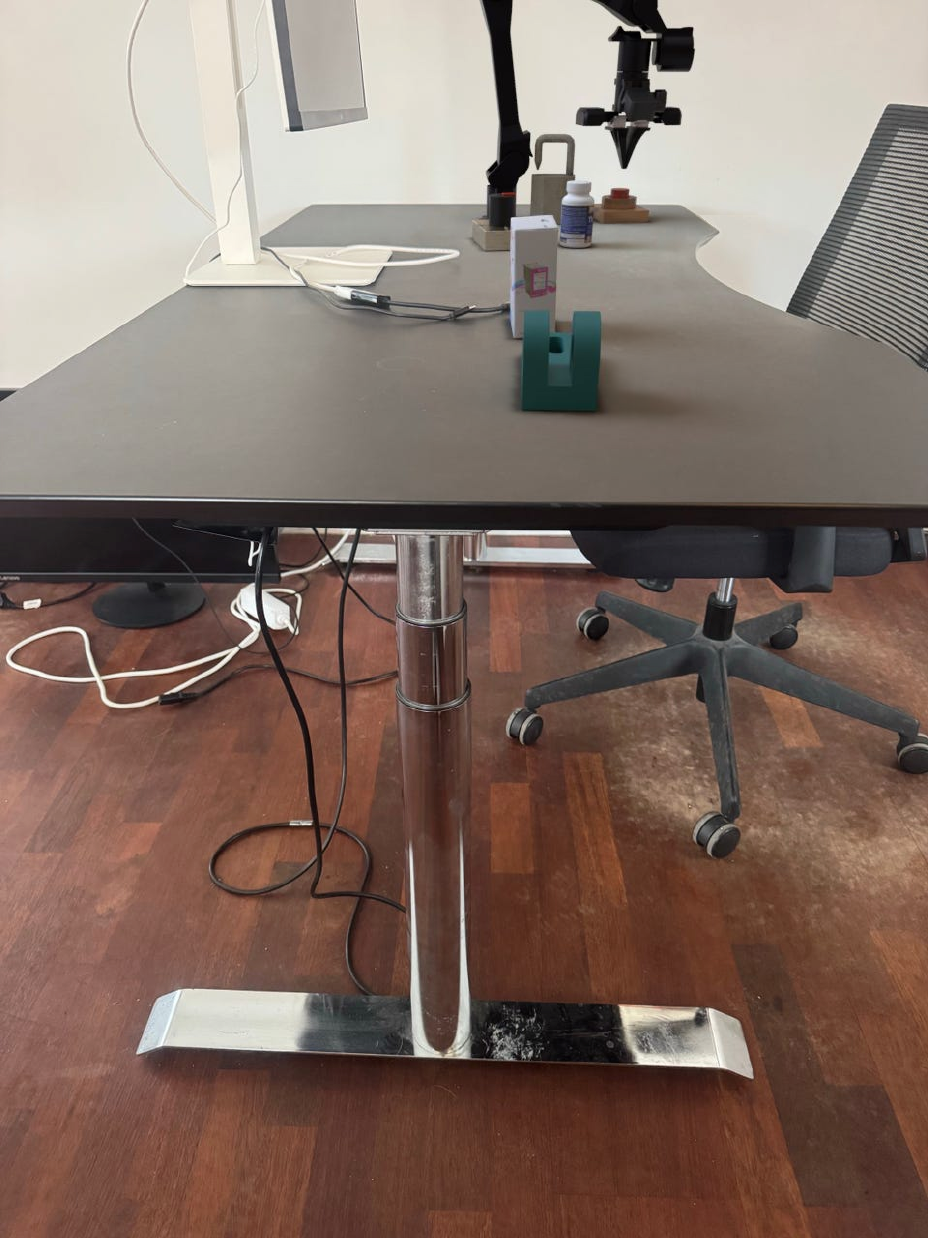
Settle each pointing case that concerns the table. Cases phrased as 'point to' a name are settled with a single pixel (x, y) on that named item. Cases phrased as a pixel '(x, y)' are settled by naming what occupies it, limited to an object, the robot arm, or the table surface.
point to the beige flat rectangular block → (491, 235)
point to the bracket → (560, 362)
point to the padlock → (551, 179)
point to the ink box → (532, 268)
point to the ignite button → (619, 193)
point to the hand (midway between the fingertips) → (623, 168)
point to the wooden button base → (620, 210)
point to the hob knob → (501, 209)
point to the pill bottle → (577, 215)
